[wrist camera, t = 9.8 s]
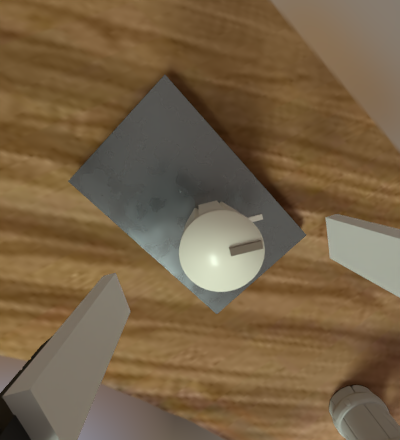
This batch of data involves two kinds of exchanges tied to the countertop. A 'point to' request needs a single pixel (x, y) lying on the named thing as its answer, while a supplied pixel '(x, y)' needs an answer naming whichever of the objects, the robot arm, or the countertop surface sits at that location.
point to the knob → (220, 248)
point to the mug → (362, 415)
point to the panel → (178, 184)
